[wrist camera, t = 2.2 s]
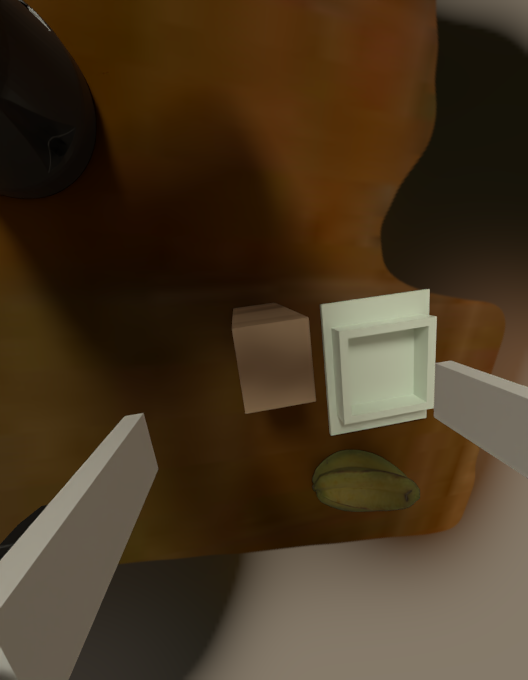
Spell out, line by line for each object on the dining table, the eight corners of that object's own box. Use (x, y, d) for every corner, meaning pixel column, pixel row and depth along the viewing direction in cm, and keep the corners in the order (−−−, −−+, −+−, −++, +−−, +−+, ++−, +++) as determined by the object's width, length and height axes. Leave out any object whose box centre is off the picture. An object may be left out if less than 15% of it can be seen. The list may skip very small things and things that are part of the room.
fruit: (364, 417, 35) (393, 447, 28) (402, 472, 37) (437, 510, 31) (298, 464, 35) (312, 504, 29) (341, 514, 38) (363, 561, 32)
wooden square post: (233, 308, 29) (231, 328, 16) (274, 302, 30) (308, 317, 16) (240, 356, 30) (245, 413, 17) (280, 350, 31) (315, 401, 17)
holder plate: (319, 304, 30) (328, 306, 27) (426, 289, 31) (445, 289, 28) (329, 433, 34) (338, 446, 31) (423, 415, 35) (439, 427, 33)
